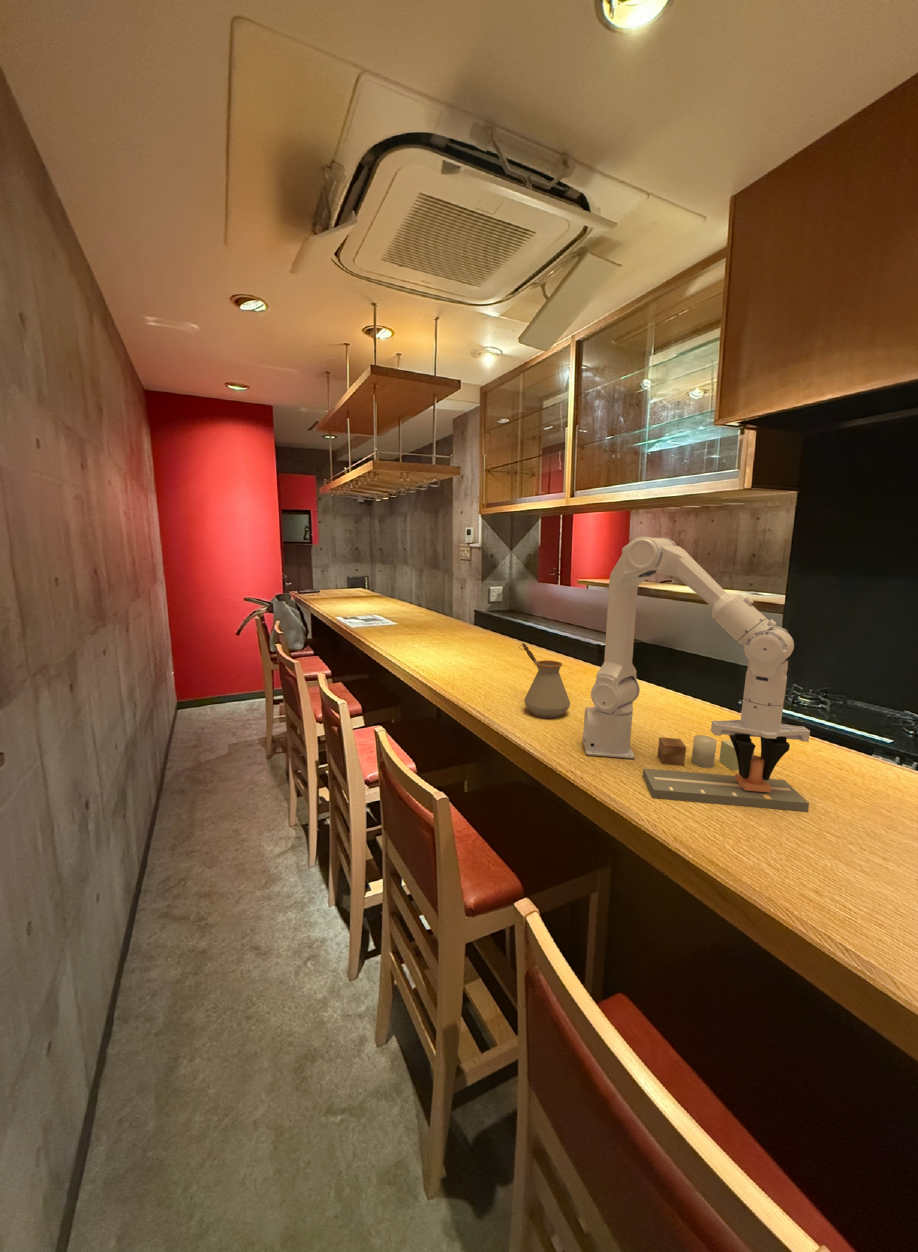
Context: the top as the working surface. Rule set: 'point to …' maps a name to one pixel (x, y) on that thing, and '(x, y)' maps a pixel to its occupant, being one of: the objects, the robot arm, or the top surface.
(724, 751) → the sage block
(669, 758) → the walnut block
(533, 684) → the coffee pot
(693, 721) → the top surface
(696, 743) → the grey cylinder
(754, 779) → the counter slider
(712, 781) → the slate board
